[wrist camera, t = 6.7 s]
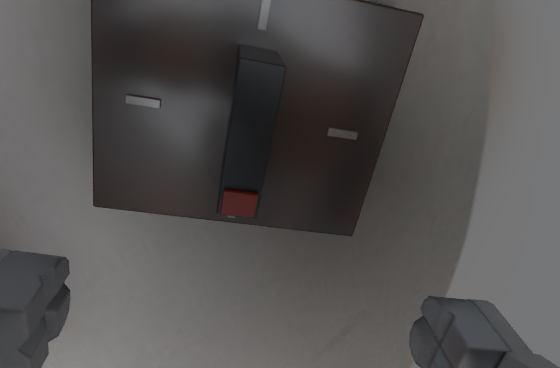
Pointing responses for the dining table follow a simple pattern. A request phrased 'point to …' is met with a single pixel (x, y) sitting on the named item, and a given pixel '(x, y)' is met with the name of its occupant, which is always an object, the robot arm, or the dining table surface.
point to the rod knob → (250, 130)
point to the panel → (217, 99)
